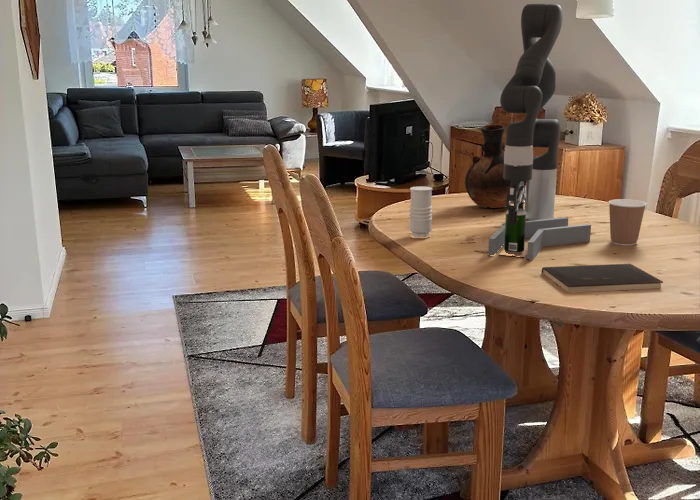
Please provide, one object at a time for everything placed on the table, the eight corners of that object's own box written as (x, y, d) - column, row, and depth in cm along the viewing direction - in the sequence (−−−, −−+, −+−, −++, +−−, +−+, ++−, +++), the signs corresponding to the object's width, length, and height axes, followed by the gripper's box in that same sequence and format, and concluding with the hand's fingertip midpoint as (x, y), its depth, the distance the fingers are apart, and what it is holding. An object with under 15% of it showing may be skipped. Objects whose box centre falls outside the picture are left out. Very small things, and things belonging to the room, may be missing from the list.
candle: (434, 235, 218) (435, 187, 214) (427, 240, 212) (428, 190, 208) (413, 233, 221) (414, 185, 217) (405, 238, 215) (406, 189, 211)
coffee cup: (641, 239, 209) (645, 200, 206) (643, 248, 200) (647, 206, 197) (604, 237, 213) (608, 198, 210) (605, 245, 203) (608, 204, 200)
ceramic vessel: (513, 202, 268) (517, 122, 260) (528, 211, 251) (533, 126, 243) (458, 203, 266) (461, 123, 258) (470, 213, 249) (473, 127, 241)
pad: (504, 249, 200) (504, 248, 200) (529, 252, 197) (529, 250, 197) (498, 255, 194) (498, 254, 194) (524, 258, 191) (524, 256, 191)
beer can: (524, 255, 193) (526, 212, 190) (504, 254, 194) (506, 211, 191) (523, 250, 198) (526, 208, 195) (504, 249, 199) (506, 207, 196)
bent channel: (461, 244, 207) (462, 227, 206) (564, 232, 219) (565, 217, 218) (505, 263, 186) (506, 245, 185) (615, 250, 198) (617, 232, 197)
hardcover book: (662, 290, 165) (663, 281, 164) (567, 295, 162) (568, 285, 162) (628, 271, 180) (629, 262, 180) (541, 275, 178) (541, 266, 177)
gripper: (509, 157, 197) (507, 214, 201) (498, 165, 185) (495, 225, 189) (537, 159, 194) (534, 216, 198) (527, 166, 182) (524, 228, 186)
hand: (515, 221), depth 194 cm, fingers open, 8 cm apart
